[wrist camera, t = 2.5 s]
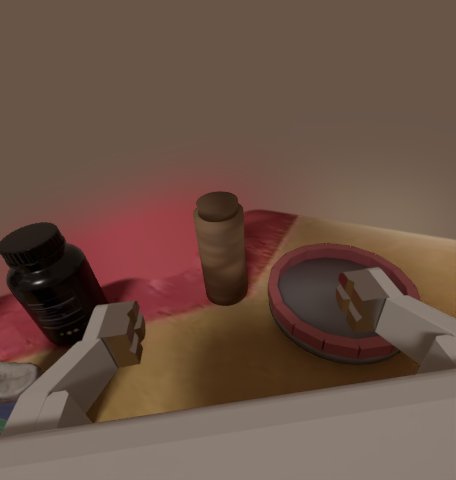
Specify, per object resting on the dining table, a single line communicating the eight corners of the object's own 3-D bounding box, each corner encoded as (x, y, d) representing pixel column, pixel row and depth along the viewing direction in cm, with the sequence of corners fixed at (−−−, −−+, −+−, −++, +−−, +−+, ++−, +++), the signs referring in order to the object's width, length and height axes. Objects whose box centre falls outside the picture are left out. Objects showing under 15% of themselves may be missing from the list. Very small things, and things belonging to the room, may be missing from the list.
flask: (96, 424, 23) (33, 347, 17) (72, 467, 21) (-10, 397, 15) (7, 401, 25) (-78, 325, 19) (-23, 438, 23) (-131, 366, 17)
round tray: (289, 375, 25) (291, 359, 24) (257, 266, 37) (257, 251, 36) (450, 351, 26) (461, 335, 24) (367, 252, 38) (371, 237, 37)
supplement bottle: (51, 309, 34) (-4, 225, 27) (110, 292, 36) (73, 209, 29) (42, 358, 28) (-30, 269, 22) (111, 335, 30) (66, 245, 23)
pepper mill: (207, 308, 32) (191, 216, 25) (205, 278, 36) (191, 192, 29) (250, 302, 32) (246, 210, 25) (243, 273, 37) (239, 186, 29)
